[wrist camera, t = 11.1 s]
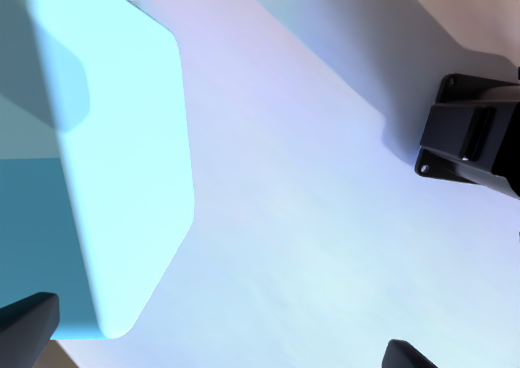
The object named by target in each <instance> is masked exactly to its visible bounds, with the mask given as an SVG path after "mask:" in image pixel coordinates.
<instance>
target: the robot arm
mask: <svg viewBox="0 0 520 368" xmlns="http://www.w3.org/2000/svg"><path fill="white" fill-rule="evenodd" d="M450 79H453V81H454V83H453V85H452V86H450V84H449V81H450ZM518 80H520V67H518ZM420 145H421V149H420V152H419V155H418V158H417V161H416V165H415V173H416V174H418V175H420V176H422V177H428V178H434V179H441V180H447V181H454V182H460V183H467V184H473V185H479V186H486V187H488V188H491V189H493V190H496V191H498V192H501V193H503V194H506V195H508V196H511V197H513V198H516V199H519V200H520V84H516V83H510V82H504V81H498V80H493V79H487V78H481V77H475V76H469V75H463V74H457V73H455V74H448V75H446V76H445V77H444V78H443V79H442V82H441V85H440V88H439V91H438V94H437V98H436V101H435V104H434V105H433V106H432V107H431V109H430V113H429V116H428V119H427V122H426V126H425V129H424V132H423V135H422V138H421V142H420ZM423 166H426V169H425V171H423V172H422V171H421V169H422V167H423ZM519 234H520V233H519ZM59 321H60V309H59V296H58V295H57V294H56V293H51V292H38V293H35V294H33V295H30V296H28V297H26V298H23V299H21V300H19V301H16V302H14V303H11V304H9V305H7V306H4V307H2V308H0V368H32V367H33V365H34V364H35V362H36V361H37V359H38V357H39V356H40V354H41V352H42V351H43V349H44V348H45V346H46V345H47V343H48V342H49V340H50V338H51V337H52V335H53V334H54V332H55V331H56V329H57V327H58V325H59ZM382 368H438V367H437V366H436V365H434V364H433V363H432V362H431V361H430V360H428V359H427V358H426V357H425V356H424V355H423V354H421V353H420V352H419V351H418V350H417V349H415V348H414V347H413V346H412V345H411V344H410V343H408V342H407V341H404V340H396V339H392V340H390V341H389V343H388V346H387V349H386V352H385V355H384V358H383V361H382Z"/></svg>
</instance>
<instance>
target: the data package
mask: <svg viewBox="0 0 520 368" xmlns="http://www.w3.org/2000/svg"><path fill="white" fill-rule="evenodd" d="M193 216H194V193H193V183H192V173H191V163H190V153H189V143H188V133H187V123H186V113H185V103H184V93H183V83H182V72H181V63H180V56H179V51H178V47H177V44H176V41H175V38H174V36H173V34H172V33H171V31H170V30H169V29H167V28H166V27H164V26H163V25H162V24H160V23H159V22H157V21H156V20H155V19H153V18H152V17H151V16H149V15H148V14H146V13H145V12H144V11H142V10H141V9H139V8H138V7H137V6H135V5H134V4H133V3H131V2H130V1H128V0H0V308H2V307H4V306H7V305H9V304H11V303H14V302H16V301H19V300H21V299H23V298H26V297H28V296H30V295H33V294H35V293H38V292H51V293H56V294H57V295H58V296H59V309H60V321H59V325H58V327H57V329H56V331H55V332H54V334H53V335H52V337H51V338H50V339H113V338H118V337H120V336H122V335H124V334H125V333H127V332H128V331H129V330H130V328H131V327H132V326H133V324H134V323H135V321H136V320H137V318H138V316H139V314H140V313H141V311H142V309H143V307H144V306H145V304H146V302H147V301H148V299H149V297H150V295H151V294H152V292H153V290H154V288H155V287H156V285H157V283H158V282H159V280H160V278H161V276H162V275H163V273H164V271H165V269H166V268H167V266H168V264H169V262H170V261H171V259H172V257H173V256H174V254H175V252H176V250H177V249H178V247H179V245H180V243H181V242H182V240H183V238H184V236H185V235H186V233H187V231H188V230H189V228H190V226H191V224H192V221H193Z"/></svg>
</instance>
